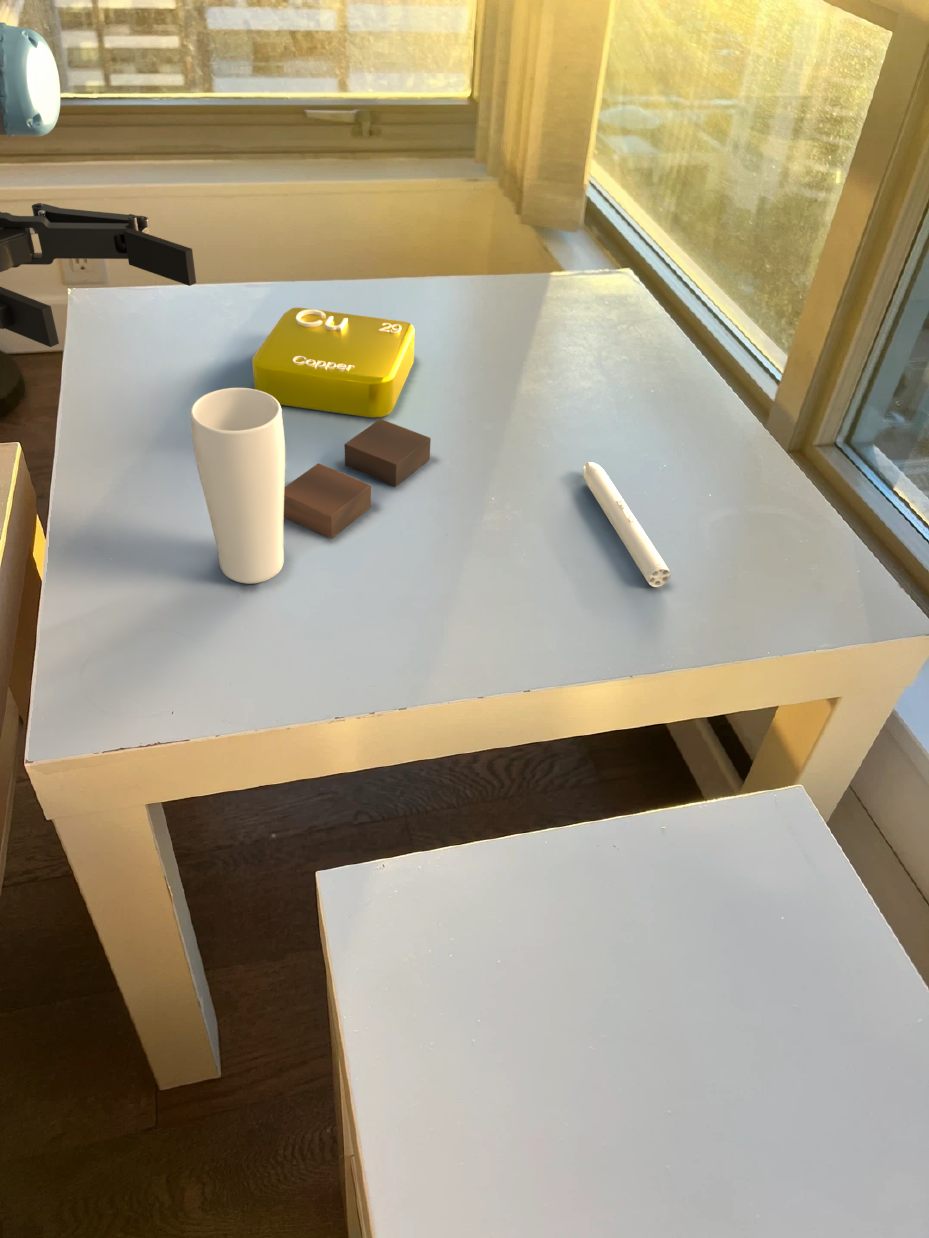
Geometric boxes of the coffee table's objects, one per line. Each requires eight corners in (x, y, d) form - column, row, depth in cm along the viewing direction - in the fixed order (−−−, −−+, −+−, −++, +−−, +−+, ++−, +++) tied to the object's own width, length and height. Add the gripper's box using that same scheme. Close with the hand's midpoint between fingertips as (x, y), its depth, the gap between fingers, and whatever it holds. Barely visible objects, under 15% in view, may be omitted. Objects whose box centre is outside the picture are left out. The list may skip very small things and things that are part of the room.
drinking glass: (307, 576, 80) (298, 418, 70) (231, 602, 77) (211, 442, 67) (271, 533, 84) (258, 378, 74) (198, 557, 81) (174, 399, 71)
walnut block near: (331, 539, 84) (331, 516, 83) (278, 515, 86) (276, 492, 85) (371, 507, 88) (371, 484, 87) (319, 485, 90) (318, 462, 89)
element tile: (249, 402, 101) (245, 360, 98) (290, 340, 112) (288, 300, 109) (389, 421, 100) (389, 380, 97) (416, 357, 111) (418, 317, 108)
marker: (575, 473, 95) (578, 452, 93) (594, 471, 95) (598, 451, 94) (645, 588, 82) (651, 567, 81) (668, 586, 83) (674, 564, 81)
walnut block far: (395, 487, 91) (396, 464, 89) (344, 466, 93) (344, 444, 91) (429, 459, 95) (431, 437, 93) (380, 440, 97) (380, 418, 95)
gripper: (65, 230, 88) (243, 291, 81) (-199, 320, 72) (-5, 408, 64) (47, 142, 83) (235, 199, 76) (-241, 218, 67) (-36, 300, 59)
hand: (125, 295), depth 70 cm, fingers open, 13 cm apart
